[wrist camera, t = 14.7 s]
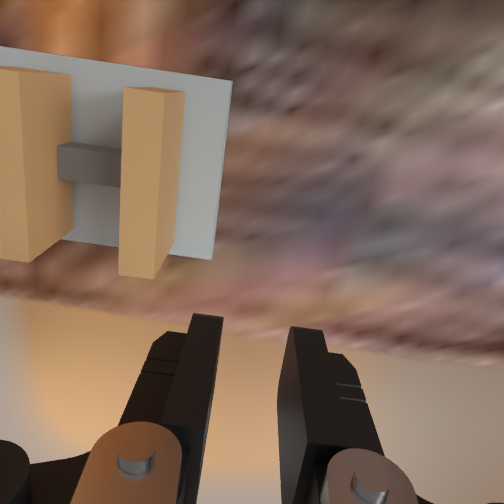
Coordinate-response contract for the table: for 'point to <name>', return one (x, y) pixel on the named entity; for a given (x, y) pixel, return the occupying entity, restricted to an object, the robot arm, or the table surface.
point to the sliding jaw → (86, 168)
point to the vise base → (110, 135)
